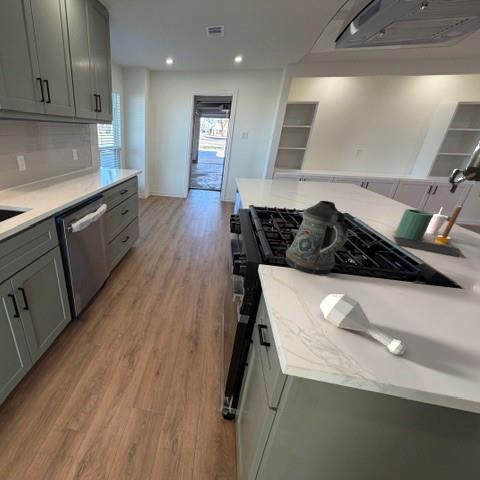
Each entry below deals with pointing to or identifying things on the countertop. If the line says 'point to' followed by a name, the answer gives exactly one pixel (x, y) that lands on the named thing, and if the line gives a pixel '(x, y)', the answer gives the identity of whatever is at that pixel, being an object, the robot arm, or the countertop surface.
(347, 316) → the chicken leg
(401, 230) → the jar
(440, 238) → the brush
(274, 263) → the countertop surface
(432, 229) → the smoothie
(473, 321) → the countertop surface
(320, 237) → the beer stein
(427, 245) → the drying mat
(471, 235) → the countertop surface
